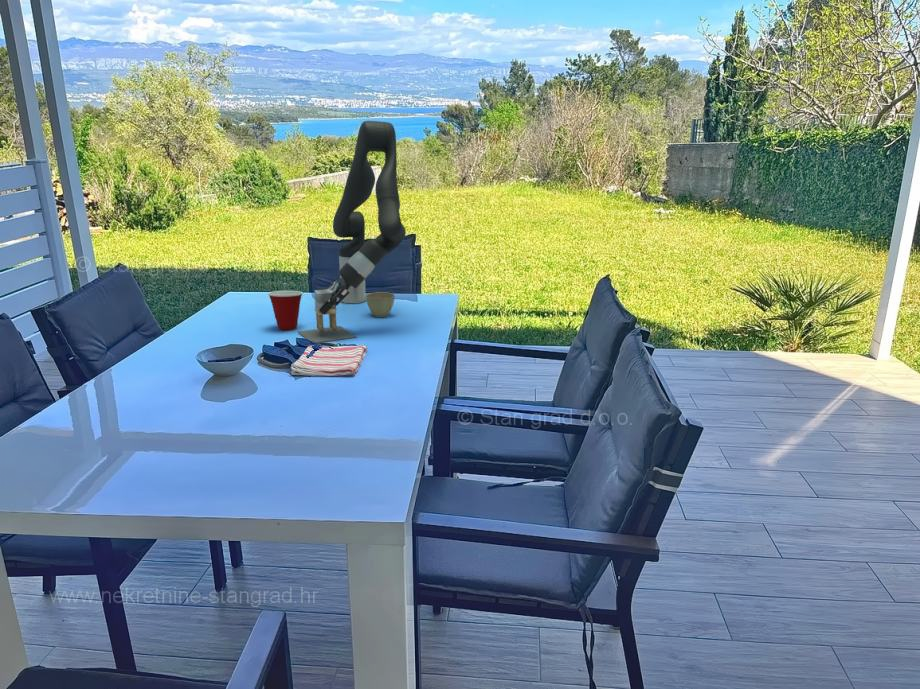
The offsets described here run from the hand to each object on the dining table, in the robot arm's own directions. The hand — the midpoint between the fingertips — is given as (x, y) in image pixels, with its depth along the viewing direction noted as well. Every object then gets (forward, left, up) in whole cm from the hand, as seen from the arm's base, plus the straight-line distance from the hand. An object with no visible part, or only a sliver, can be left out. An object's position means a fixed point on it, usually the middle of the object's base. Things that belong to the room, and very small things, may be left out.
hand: (319, 310), depth 205 cm
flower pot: (-15, +27, -8) cm, 32 cm away
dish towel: (+27, -7, -9) cm, 29 cm away
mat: (0, +2, -8) cm, 8 cm away
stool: (0, +2, -6) cm, 7 cm away
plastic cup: (-14, -6, -8) cm, 17 cm away
